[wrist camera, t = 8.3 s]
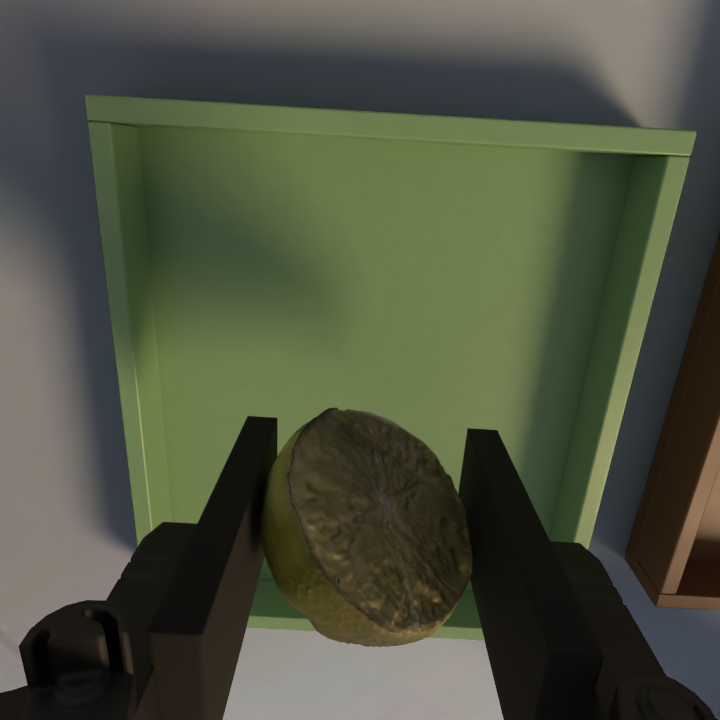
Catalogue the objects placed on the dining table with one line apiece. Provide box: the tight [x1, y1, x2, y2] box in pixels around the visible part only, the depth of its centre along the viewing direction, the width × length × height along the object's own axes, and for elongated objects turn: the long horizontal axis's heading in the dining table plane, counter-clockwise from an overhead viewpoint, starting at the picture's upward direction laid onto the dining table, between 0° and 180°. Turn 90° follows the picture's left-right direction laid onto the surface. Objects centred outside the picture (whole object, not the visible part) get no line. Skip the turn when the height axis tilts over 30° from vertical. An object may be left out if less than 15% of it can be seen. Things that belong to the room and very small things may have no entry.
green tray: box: [84, 94, 697, 640], centre depth 17 cm, size 17×15×2 cm
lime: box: [260, 408, 473, 647], centre depth 12 cm, size 4×5×5 cm
